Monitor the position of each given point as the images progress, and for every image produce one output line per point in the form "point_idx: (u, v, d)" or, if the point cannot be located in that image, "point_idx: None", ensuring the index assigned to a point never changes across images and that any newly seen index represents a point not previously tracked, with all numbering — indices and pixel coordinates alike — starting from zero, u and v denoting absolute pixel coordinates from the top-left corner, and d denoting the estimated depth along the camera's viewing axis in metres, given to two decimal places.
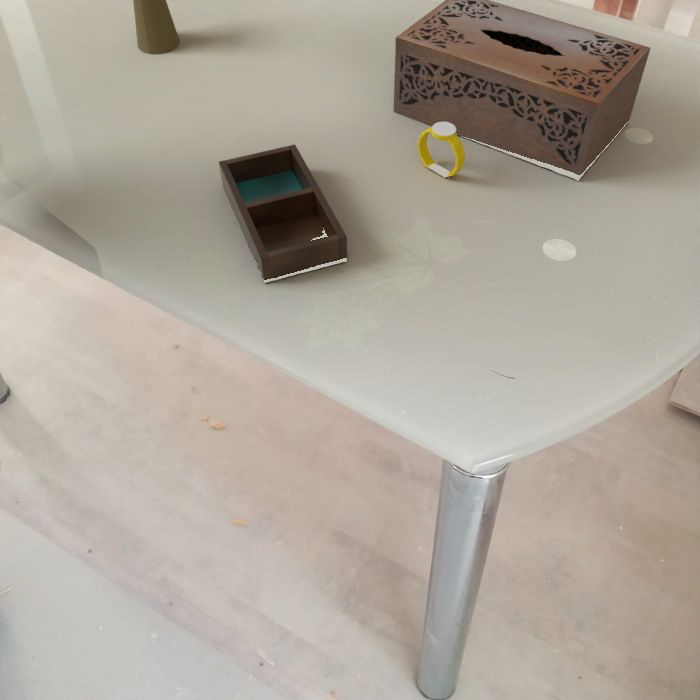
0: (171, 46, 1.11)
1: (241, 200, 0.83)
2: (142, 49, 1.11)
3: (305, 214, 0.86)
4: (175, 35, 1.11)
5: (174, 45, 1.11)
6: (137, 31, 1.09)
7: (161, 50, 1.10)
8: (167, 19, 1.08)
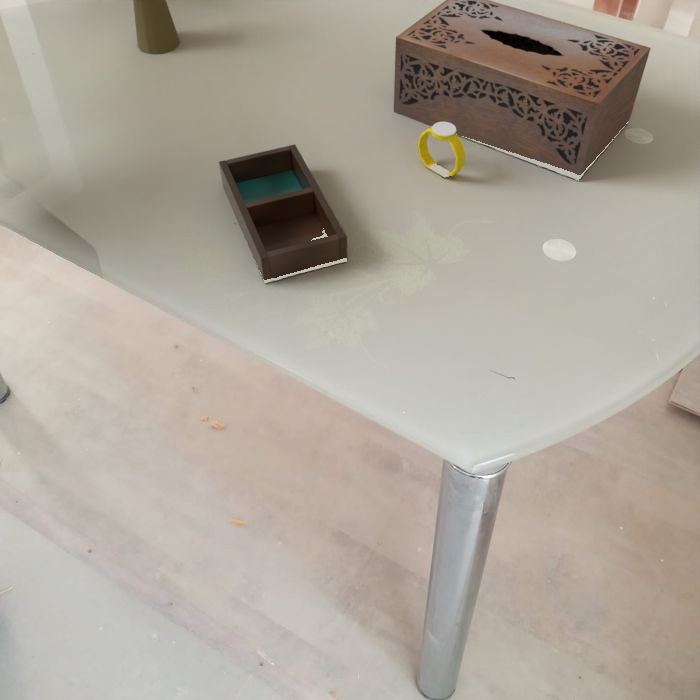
0: (171, 46, 1.11)
1: (241, 200, 0.83)
2: (142, 49, 1.11)
3: (305, 214, 0.86)
4: (175, 35, 1.11)
5: (174, 45, 1.11)
6: (137, 31, 1.09)
7: (161, 50, 1.10)
8: (167, 19, 1.08)
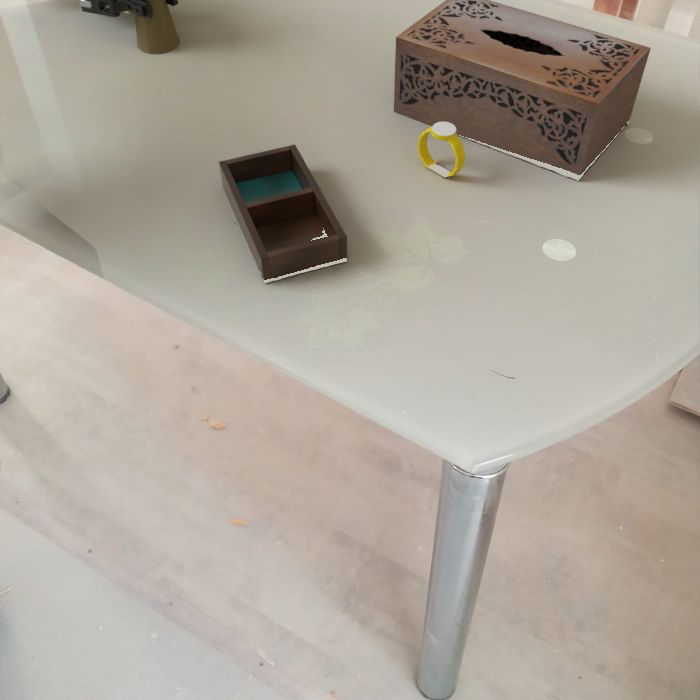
0: (171, 46, 1.11)
1: (241, 200, 0.83)
2: (142, 49, 1.11)
3: (305, 214, 0.86)
4: (175, 35, 1.11)
5: (174, 45, 1.11)
6: (137, 31, 1.09)
7: (161, 50, 1.10)
8: (167, 19, 1.09)
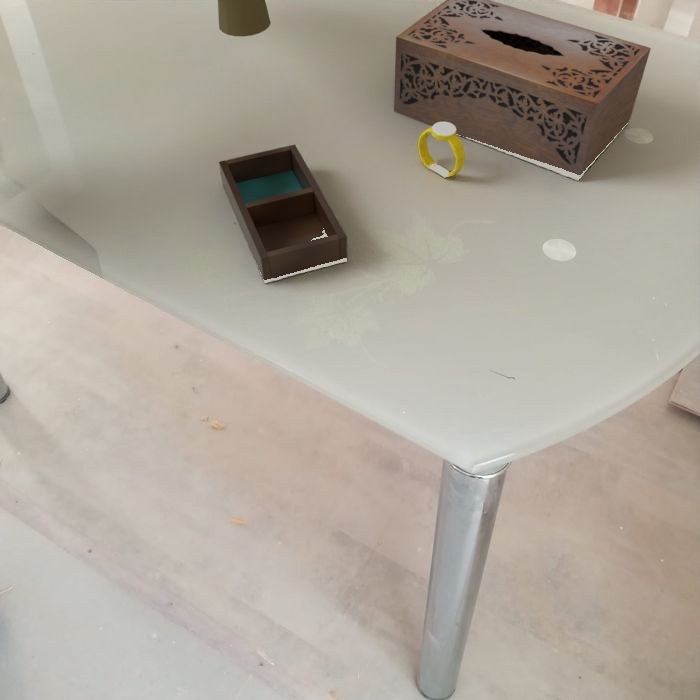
0: (256, 29, 0.88)
1: (241, 200, 0.83)
2: (221, 28, 0.88)
3: (305, 214, 0.86)
4: (264, 16, 0.88)
5: (260, 28, 0.88)
6: (218, 5, 0.87)
7: (242, 32, 0.87)
8: None
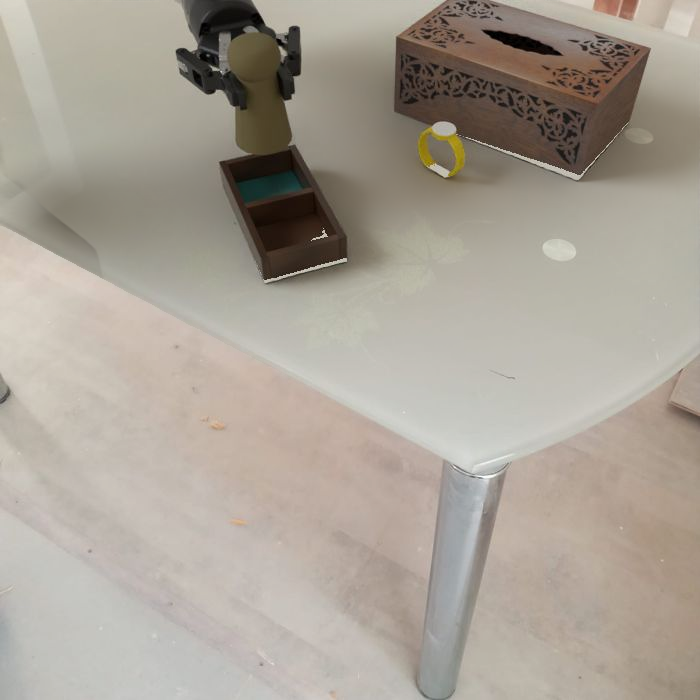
0: (271, 149, 0.80)
1: (241, 200, 0.83)
2: (236, 141, 0.81)
3: (305, 214, 0.86)
4: (282, 136, 0.80)
5: (276, 148, 0.80)
6: (235, 117, 0.80)
7: (255, 151, 0.80)
8: (272, 116, 0.78)
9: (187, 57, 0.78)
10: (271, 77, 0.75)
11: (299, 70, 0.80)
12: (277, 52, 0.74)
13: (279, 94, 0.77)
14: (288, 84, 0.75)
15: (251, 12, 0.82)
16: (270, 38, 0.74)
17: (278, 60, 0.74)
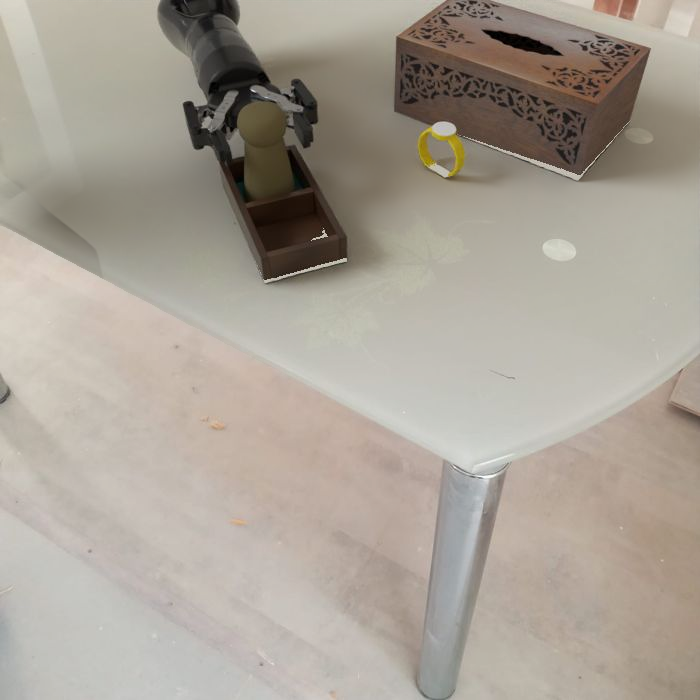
0: None
1: (241, 200, 0.83)
2: (245, 198, 0.87)
3: (305, 214, 0.86)
4: None
5: None
6: (244, 177, 0.86)
7: None
8: (278, 176, 0.83)
9: (188, 112, 0.84)
10: (278, 142, 0.81)
11: (317, 118, 0.86)
12: (284, 120, 0.80)
13: (285, 157, 0.83)
14: (307, 134, 0.81)
15: (257, 72, 0.87)
16: (277, 107, 0.80)
17: (284, 127, 0.80)
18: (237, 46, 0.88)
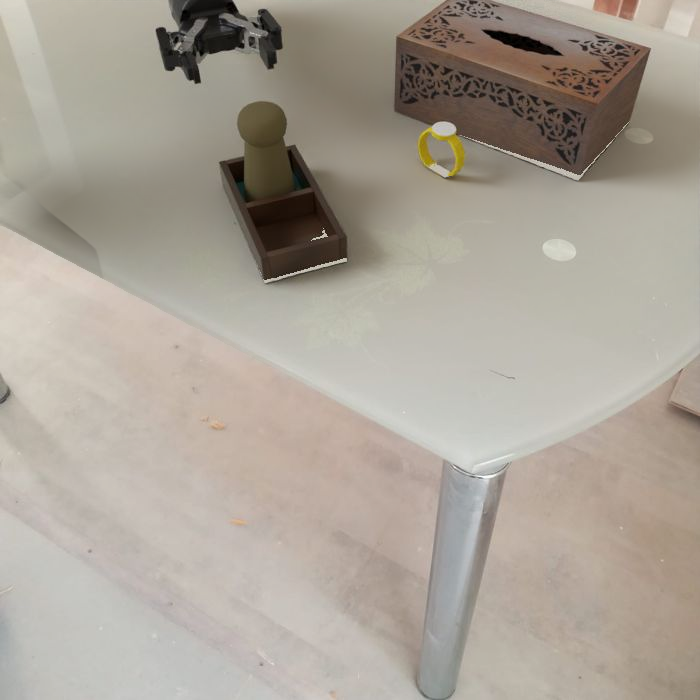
0: None
1: (241, 200, 0.83)
2: (245, 198, 0.87)
3: (305, 214, 0.86)
4: None
5: None
6: (244, 176, 0.86)
7: None
8: (278, 176, 0.83)
9: (160, 36, 0.90)
10: (278, 142, 0.81)
11: (282, 43, 0.92)
12: (284, 120, 0.80)
13: (285, 157, 0.83)
14: (271, 54, 0.87)
15: (226, 1, 0.93)
16: (277, 107, 0.80)
17: (284, 127, 0.80)
18: None
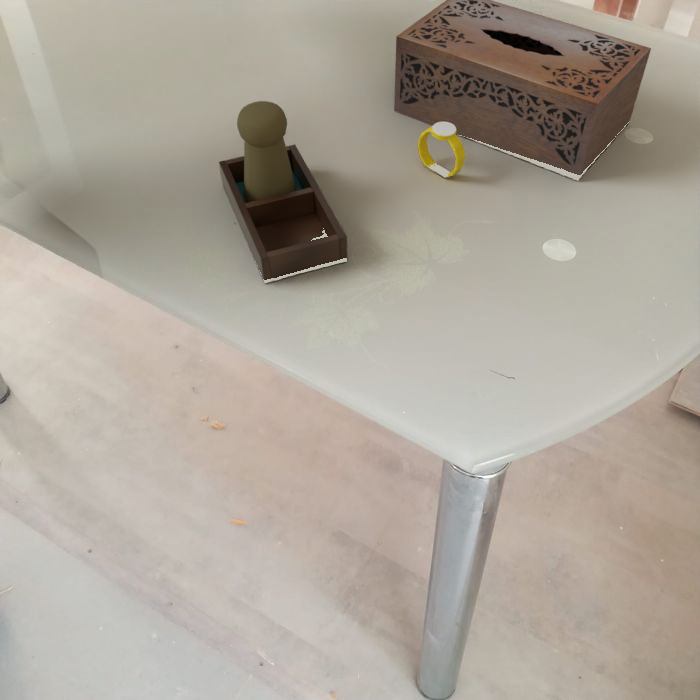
0: None
1: (241, 200, 0.83)
2: (245, 198, 0.87)
3: (305, 214, 0.86)
4: None
5: None
6: (244, 176, 0.86)
7: None
8: (278, 176, 0.83)
9: None
10: (278, 142, 0.81)
11: None
12: (284, 120, 0.80)
13: (285, 157, 0.83)
14: None
15: None
16: (277, 107, 0.80)
17: (284, 127, 0.80)
18: None
